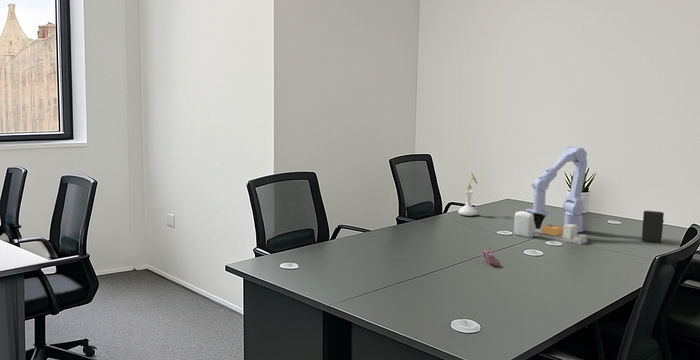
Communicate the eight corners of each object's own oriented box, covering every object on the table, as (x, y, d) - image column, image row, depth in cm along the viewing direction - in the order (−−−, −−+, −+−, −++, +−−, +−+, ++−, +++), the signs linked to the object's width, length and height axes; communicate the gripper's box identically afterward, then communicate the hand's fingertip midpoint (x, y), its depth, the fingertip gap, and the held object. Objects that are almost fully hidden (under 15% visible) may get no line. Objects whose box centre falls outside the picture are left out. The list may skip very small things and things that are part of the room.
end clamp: (548, 231, 351) (549, 223, 351) (562, 233, 345) (563, 225, 345) (541, 232, 347) (542, 224, 347) (555, 235, 341) (556, 227, 341)
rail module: (569, 235, 342) (570, 223, 341) (576, 237, 339) (577, 225, 338) (562, 237, 339) (563, 225, 338) (570, 238, 336) (570, 226, 335)
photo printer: (512, 234, 350) (513, 210, 349) (517, 233, 353) (518, 209, 351) (529, 238, 343) (530, 213, 341) (534, 237, 345) (535, 212, 343)
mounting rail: (537, 232, 357) (537, 225, 356) (587, 242, 335) (587, 235, 334) (530, 233, 353) (530, 226, 353) (580, 244, 331) (581, 237, 331)
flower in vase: (473, 217, 391) (475, 174, 388) (455, 215, 397) (456, 172, 393) (481, 214, 402) (483, 171, 399) (463, 212, 408) (464, 170, 404)
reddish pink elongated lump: (484, 264, 299) (478, 250, 298) (494, 259, 299) (487, 245, 298) (491, 270, 290) (485, 255, 288) (501, 265, 290) (494, 251, 288)
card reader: (661, 241, 339) (664, 211, 337) (661, 243, 335) (664, 213, 333) (641, 239, 343) (644, 210, 340) (641, 241, 339) (643, 211, 337)
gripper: (522, 201, 354) (521, 226, 356) (546, 205, 343) (545, 231, 345) (531, 199, 358) (529, 225, 360) (555, 203, 347) (553, 230, 349)
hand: (537, 228), depth 353 cm, fingers closed
